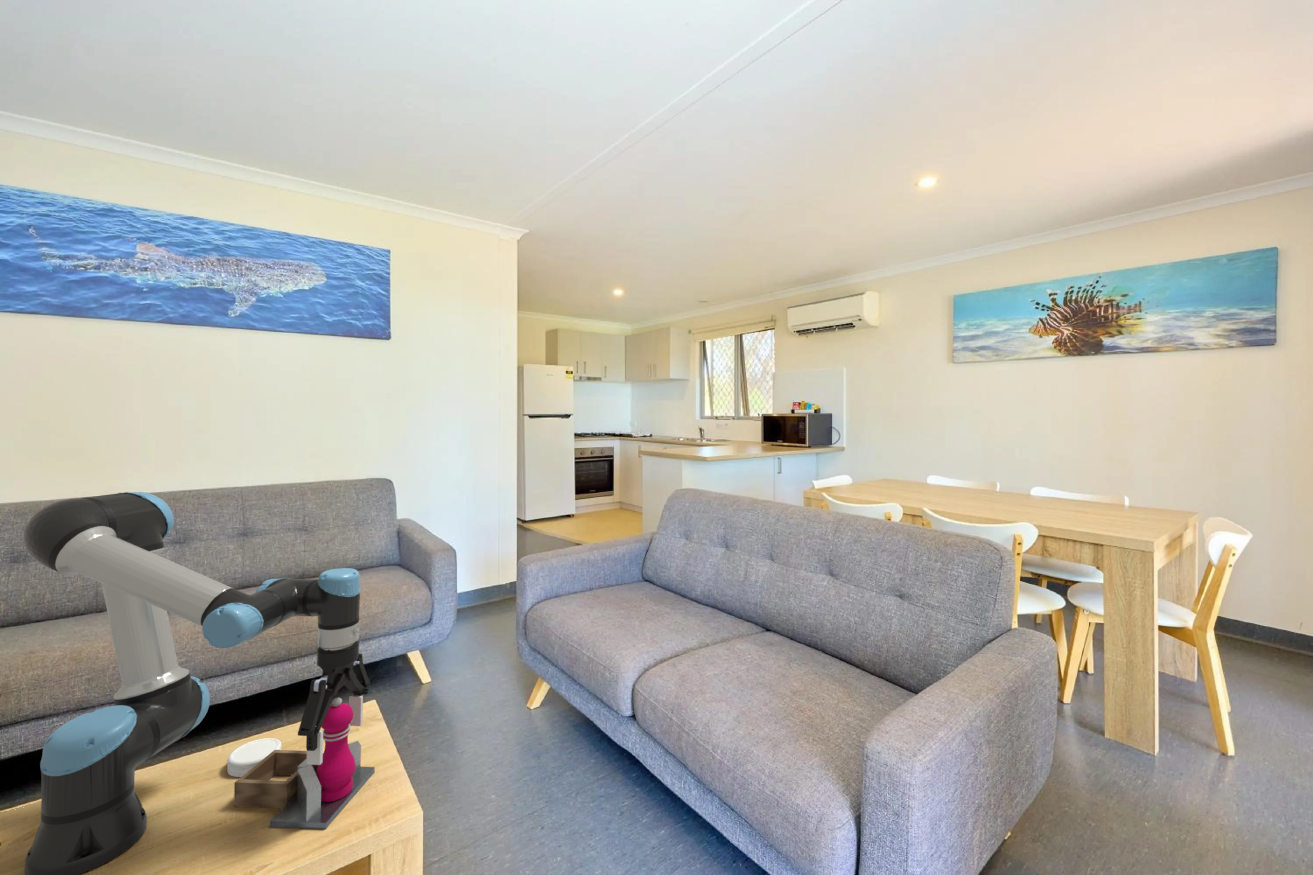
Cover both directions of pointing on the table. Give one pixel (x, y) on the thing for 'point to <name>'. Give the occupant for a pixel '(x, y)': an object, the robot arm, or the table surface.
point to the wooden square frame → (269, 781)
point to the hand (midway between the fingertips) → (336, 743)
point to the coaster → (250, 755)
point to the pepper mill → (336, 753)
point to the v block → (318, 797)
